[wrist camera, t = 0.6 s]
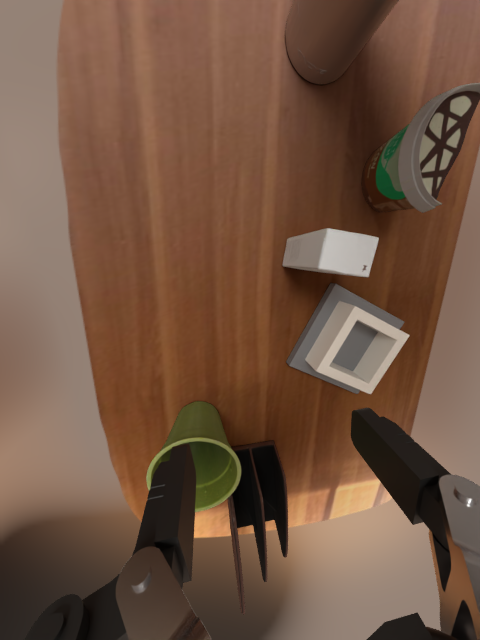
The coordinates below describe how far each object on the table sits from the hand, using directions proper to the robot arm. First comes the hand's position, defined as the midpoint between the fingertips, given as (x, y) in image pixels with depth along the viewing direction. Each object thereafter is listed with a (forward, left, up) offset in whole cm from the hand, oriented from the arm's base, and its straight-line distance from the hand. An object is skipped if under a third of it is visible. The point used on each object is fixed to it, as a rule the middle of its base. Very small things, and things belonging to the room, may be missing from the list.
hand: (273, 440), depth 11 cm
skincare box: (-13, +7, -26) cm, 30 cm away
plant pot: (+19, +4, -26) cm, 32 cm away
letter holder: (+30, +20, -26) cm, 44 cm away
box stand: (-4, +21, -26) cm, 33 cm away
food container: (-28, +11, -26) cm, 39 cm away
